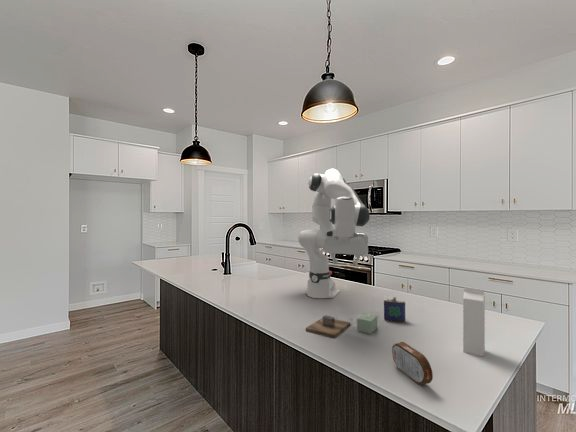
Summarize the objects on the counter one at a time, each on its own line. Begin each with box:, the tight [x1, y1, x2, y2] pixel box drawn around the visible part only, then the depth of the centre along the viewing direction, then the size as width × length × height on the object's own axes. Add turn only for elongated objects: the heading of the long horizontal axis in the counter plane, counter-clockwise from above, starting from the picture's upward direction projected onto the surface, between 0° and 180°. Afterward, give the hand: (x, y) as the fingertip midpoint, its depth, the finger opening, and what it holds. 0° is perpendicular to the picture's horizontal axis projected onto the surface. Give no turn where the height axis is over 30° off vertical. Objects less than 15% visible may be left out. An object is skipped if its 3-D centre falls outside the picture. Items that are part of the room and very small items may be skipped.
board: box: [305, 317, 351, 339], centre depth 126 cm, size 16×13×1 cm
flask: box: [383, 296, 407, 323], centre depth 134 cm, size 9×3×11 cm, turn 74°
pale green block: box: [356, 312, 378, 334], centre depth 125 cm, size 6×8×5 cm
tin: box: [391, 341, 434, 386], centre depth 88 cm, size 15×3×8 cm, turn 17°
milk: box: [462, 287, 486, 357], centre depth 104 cm, size 6×6×22 cm
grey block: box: [322, 314, 336, 327], centre depth 126 cm, size 2×4×5 cm, turn 56°
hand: (344, 264), depth 130 cm, fingers open, 8 cm apart
